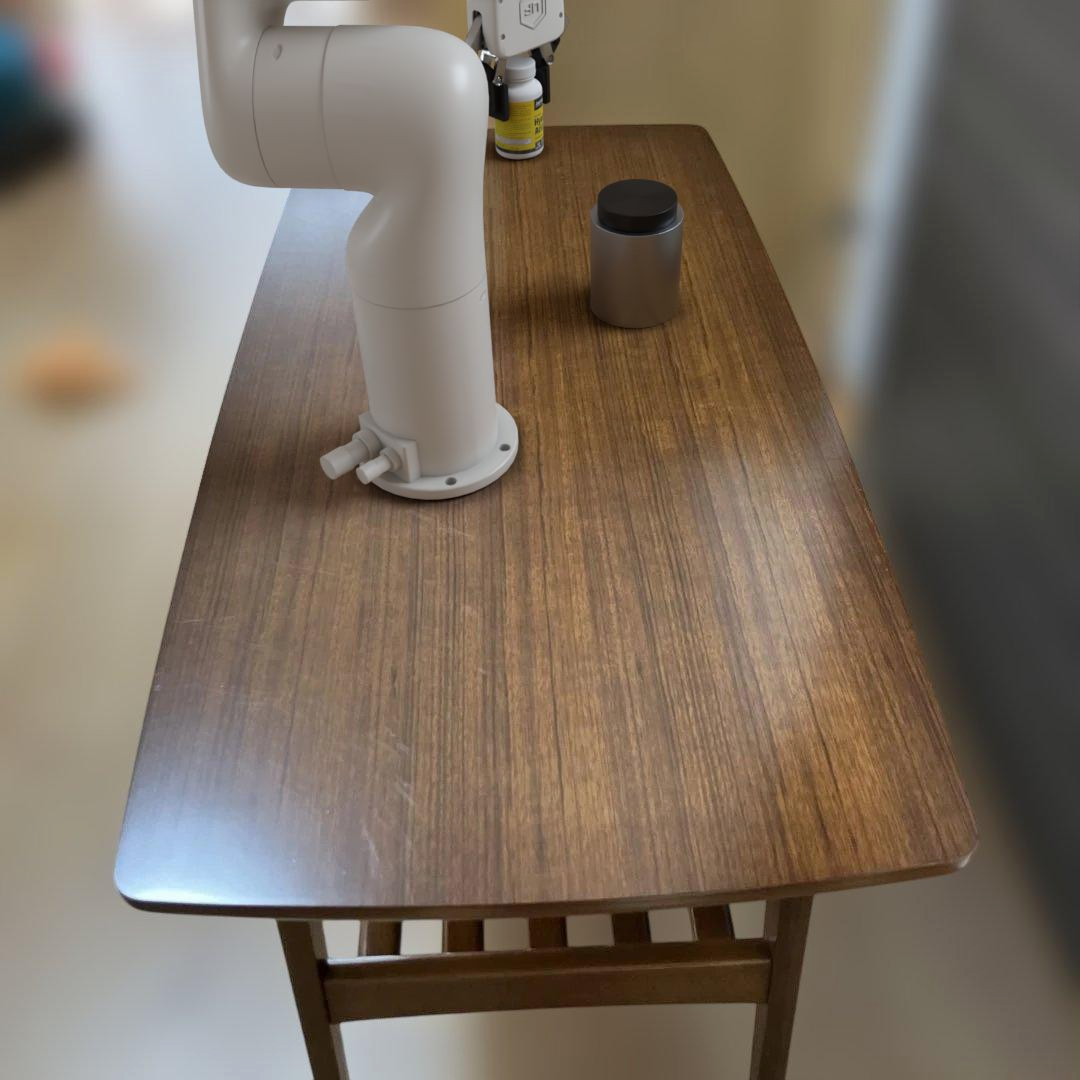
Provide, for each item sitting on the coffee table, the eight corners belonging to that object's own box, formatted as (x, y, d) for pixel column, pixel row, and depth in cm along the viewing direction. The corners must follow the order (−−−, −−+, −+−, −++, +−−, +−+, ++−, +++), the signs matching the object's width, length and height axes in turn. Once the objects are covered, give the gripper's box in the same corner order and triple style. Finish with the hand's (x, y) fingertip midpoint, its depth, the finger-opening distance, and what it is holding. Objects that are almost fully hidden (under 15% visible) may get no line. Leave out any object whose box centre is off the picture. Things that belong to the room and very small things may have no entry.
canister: (637, 339, 98) (640, 229, 91) (572, 305, 102) (570, 198, 95) (696, 303, 102) (704, 195, 95) (631, 272, 106) (634, 166, 99)
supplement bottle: (543, 160, 124) (540, 71, 117) (495, 161, 124) (489, 72, 117) (544, 139, 128) (541, 51, 121) (497, 140, 128) (491, 52, 121)
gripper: (470, -44, 104) (483, 144, 117) (598, -86, 112) (597, 94, 125) (418, -60, 108) (436, 124, 121) (545, -99, 116) (550, 77, 129)
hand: (518, 107), depth 123 cm, fingers closed on supplement bottle, 5 cm apart
